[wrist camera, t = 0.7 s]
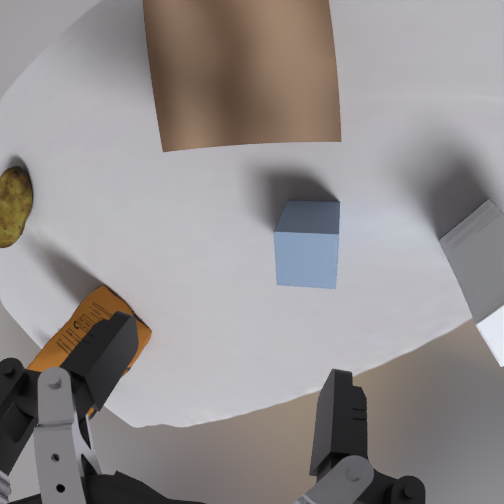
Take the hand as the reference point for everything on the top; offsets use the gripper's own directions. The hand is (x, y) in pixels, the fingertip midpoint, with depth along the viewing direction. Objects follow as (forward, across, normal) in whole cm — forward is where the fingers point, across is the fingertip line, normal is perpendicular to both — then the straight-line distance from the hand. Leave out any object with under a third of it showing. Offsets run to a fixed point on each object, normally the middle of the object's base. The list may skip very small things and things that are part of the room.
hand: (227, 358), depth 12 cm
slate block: (+21, -3, +3) cm, 21 cm away
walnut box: (+21, +4, -12) cm, 25 cm away
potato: (+24, +40, +8) cm, 48 cm away
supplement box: (+20, -21, 0) cm, 29 cm away
